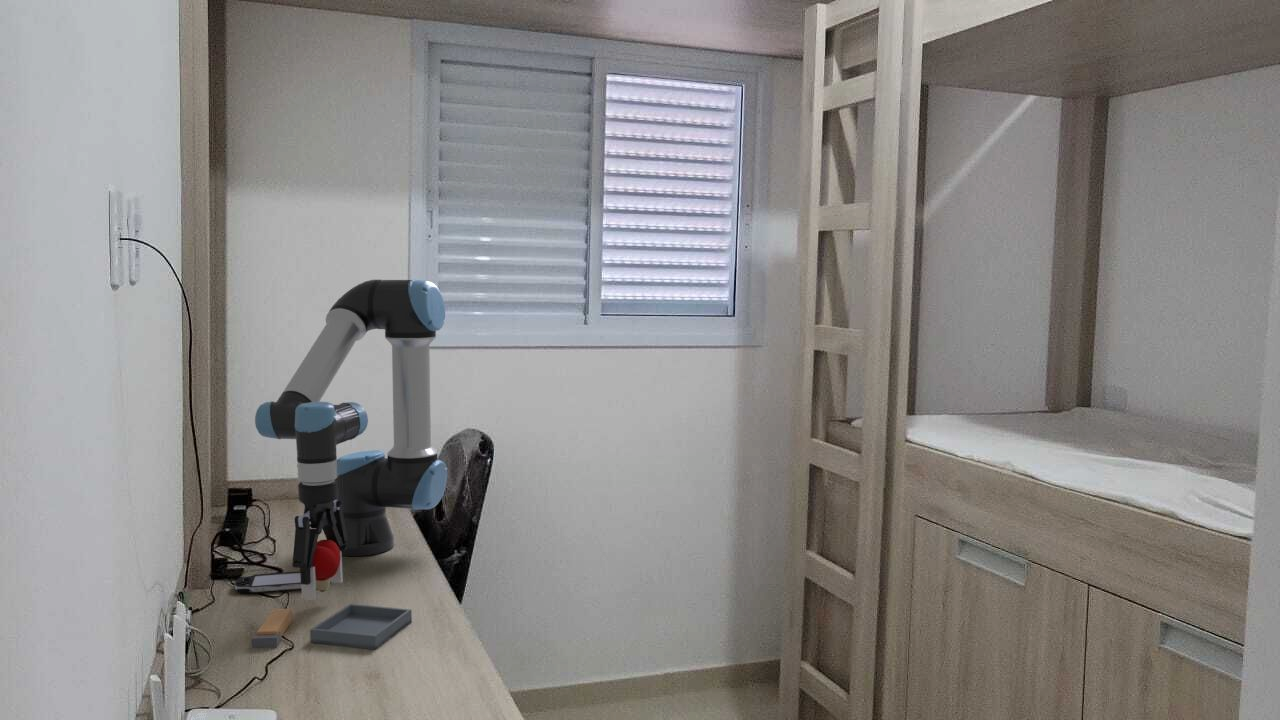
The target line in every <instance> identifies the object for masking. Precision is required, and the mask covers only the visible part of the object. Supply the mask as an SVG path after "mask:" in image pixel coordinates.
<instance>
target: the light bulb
mask: <svg viewBox="0 0 1280 720" xmlns="http://www.w3.org/2000/svg"><path fill="white" fill-rule="evenodd" d="M340 560H341V554H340V550H339V548H338V546H337V544H336V543H335V542H333V541H332V540H327V539H326V538H325V539H320V540H317V545H316V550H315V554H314V559H313V564H312V566H313V567H315V579H316V590H318V591H320V593H323V592H326V591H327V590H328V589H329V588H330V583H331V582H329V579H330V578H331V577H333V576H334V575H335V574H336V572H337V570H338V568H339V565H340Z"/></svg>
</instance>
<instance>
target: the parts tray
mask: <svg viewBox="0 0 1280 720" xmlns="http://www.w3.org/2000/svg"><path fill="white" fill-rule="evenodd" d="M412 614H413V613H412V609H408V608H399V607H398V608H397V607H386V606H375V605H367V604H354V603H349V604H347V605H346V606H344V607H343V608H341V609H340V610H338V611H336V612H335V613H333V614H331V616H329V617H327V618H326V619H324V620H323V621H321V622H319V623H318V624H316V625H315V626H313V627H312V628H310V629H309V635H310V636H309V638H310V643H311V644H321V645H328V646H329V645H330V646H331V645H332V646H340V647H347V648H348V647H349V648H359V649H367V650H368V649H369V650H377V649H379V647H381V646H383V645H384V644H385V643H386V642H387V641H389V640H390V639H391V638H393V637H394V636H396V635H397V634H398V633H399V632H401V631H402V630H404V629H405V628H406V627H407V626H408V625H410V624H411V623H413V622H412Z"/></svg>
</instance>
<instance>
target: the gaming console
mask: <svg viewBox="0 0 1280 720" xmlns="http://www.w3.org/2000/svg"><path fill="white" fill-rule="evenodd" d="M234 590H235V591H236V592H237V593H239V594H243V595H252V594H253V595H254V594H256V595H257V594H267V593H269V594H271V593H284V592H294V591H302V588H301V575H300V570H299V571H297V570H296V571H283V572H272V573H271V572H269V573H259V574H251V575H250V574H249V575H246V576H245V575H244V576H241V577H239V578H237V579H236V580H235V581H234Z"/></svg>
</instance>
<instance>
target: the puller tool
mask: <svg viewBox="0 0 1280 720" xmlns="http://www.w3.org/2000/svg"><path fill="white" fill-rule="evenodd" d="M292 613H293V610H292V608H273V609H272V610H271V611H270V613H269V614H268V616H266V618H265V620H264V621H263V623H262V624H261V625H260V626H259V627H258V630H257V631H256V632H255V633H254V634H253V636H252V637H251V649H252V648H257V649H278V647H279V645H280V643H281V642H282V637H283V635H284V634H285V632H286V631H287V629H288V627H289V626H290V624H291V623H292V621H293V614H292Z"/></svg>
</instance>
